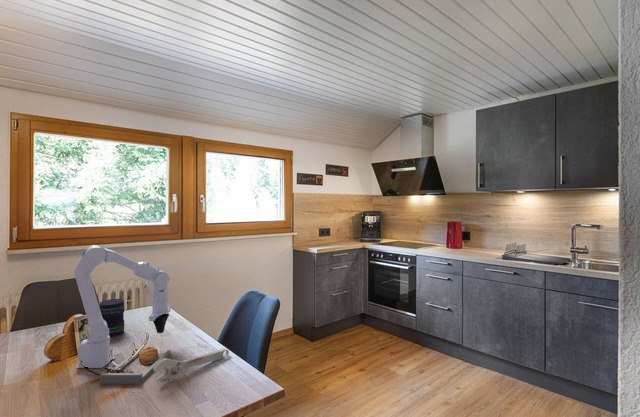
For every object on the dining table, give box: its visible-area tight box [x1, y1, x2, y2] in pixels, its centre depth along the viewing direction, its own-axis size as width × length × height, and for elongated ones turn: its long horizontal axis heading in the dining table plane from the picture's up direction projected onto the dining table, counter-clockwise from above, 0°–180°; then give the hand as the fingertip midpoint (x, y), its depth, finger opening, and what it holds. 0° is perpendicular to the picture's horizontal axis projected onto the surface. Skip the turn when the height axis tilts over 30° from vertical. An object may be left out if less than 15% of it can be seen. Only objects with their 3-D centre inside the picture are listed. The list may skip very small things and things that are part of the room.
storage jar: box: [99, 298, 125, 339], centre depth 154 cm, size 10×10×15 cm
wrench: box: [153, 348, 230, 383], centre depth 120 cm, size 8×2×30 cm
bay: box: [99, 349, 172, 385], centre depth 122 cm, size 13×23×3 cm, turn 0°
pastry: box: [138, 346, 160, 366], centre depth 128 cm, size 9×7×4 cm
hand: (160, 332), depth 138 cm, fingers closed
